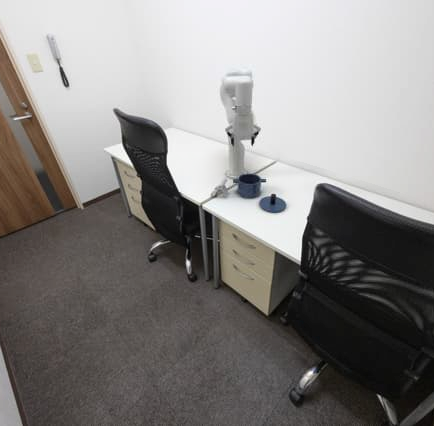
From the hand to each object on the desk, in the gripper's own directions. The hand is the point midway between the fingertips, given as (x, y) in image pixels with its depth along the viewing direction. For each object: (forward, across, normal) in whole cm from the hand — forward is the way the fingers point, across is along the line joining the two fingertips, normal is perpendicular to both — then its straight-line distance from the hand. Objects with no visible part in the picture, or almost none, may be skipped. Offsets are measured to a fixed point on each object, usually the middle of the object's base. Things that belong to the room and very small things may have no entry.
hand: (242, 145), depth 119 cm
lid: (+26, +15, -16) cm, 34 cm away
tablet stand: (+26, -12, -4) cm, 29 cm away
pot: (+26, +4, -3) cm, 27 cm away
